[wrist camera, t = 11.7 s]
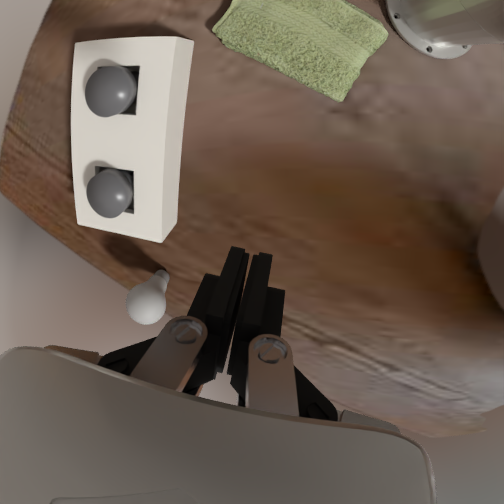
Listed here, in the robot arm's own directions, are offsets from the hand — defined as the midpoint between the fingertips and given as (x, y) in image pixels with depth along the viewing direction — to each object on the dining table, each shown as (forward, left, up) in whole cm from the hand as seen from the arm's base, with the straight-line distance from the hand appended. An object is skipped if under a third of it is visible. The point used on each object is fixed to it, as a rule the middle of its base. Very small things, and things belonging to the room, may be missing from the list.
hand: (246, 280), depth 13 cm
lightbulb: (+25, -15, -29) cm, 41 cm away
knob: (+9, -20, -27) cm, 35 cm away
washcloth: (-14, 0, -30) cm, 33 cm away
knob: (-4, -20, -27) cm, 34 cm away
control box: (+2, -20, -29) cm, 35 cm away
